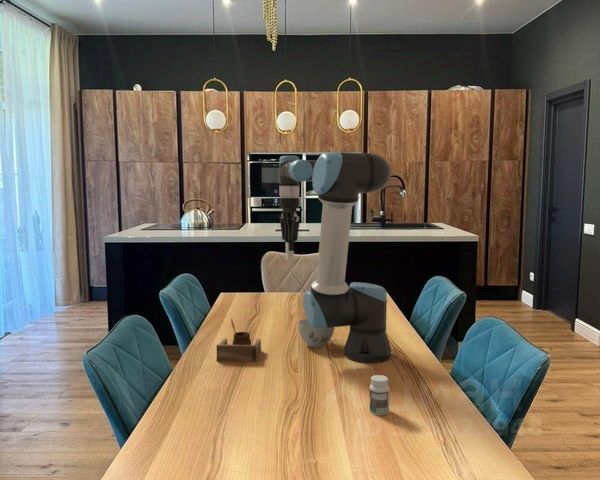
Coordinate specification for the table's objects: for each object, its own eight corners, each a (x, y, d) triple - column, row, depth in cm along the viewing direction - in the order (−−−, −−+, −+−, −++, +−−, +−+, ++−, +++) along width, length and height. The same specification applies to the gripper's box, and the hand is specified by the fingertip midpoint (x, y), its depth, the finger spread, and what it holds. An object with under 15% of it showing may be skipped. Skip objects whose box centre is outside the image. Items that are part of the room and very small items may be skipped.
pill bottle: (375, 405, 127) (376, 372, 126) (392, 410, 124) (393, 377, 123) (365, 412, 123) (366, 378, 122) (382, 417, 120) (383, 383, 119)
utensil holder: (250, 358, 162) (249, 321, 160) (230, 358, 162) (229, 321, 160) (252, 352, 167) (251, 316, 166) (232, 352, 167) (232, 316, 166)
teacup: (333, 351, 167) (333, 328, 166) (295, 350, 169) (295, 327, 168) (335, 338, 182) (335, 316, 181) (301, 337, 184) (301, 315, 183)
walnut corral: (223, 350, 169) (223, 335, 169) (260, 350, 169) (260, 336, 168) (216, 361, 159) (216, 345, 158) (256, 361, 158) (256, 346, 158)
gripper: (306, 197, 188) (307, 260, 191) (289, 196, 200) (289, 256, 202) (289, 197, 185) (289, 262, 187) (272, 197, 196) (273, 257, 198)
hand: (289, 259), depth 195 cm, fingers closed
